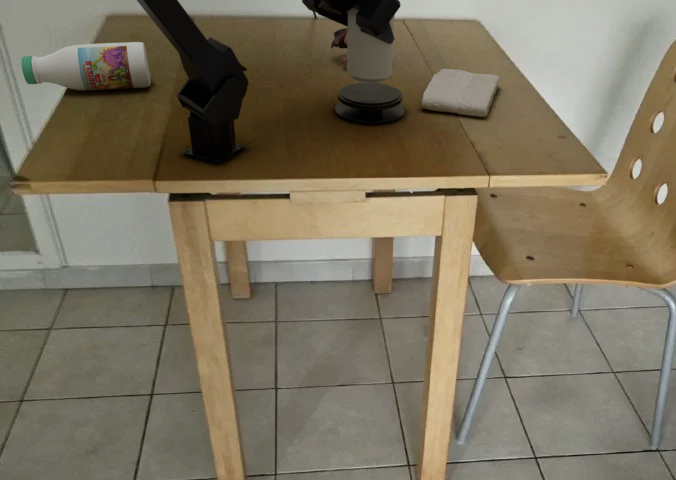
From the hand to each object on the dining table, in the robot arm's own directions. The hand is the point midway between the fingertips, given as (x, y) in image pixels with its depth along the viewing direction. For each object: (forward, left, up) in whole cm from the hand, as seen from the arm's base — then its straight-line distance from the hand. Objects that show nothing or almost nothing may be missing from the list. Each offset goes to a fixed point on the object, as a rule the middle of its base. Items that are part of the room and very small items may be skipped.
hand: (377, 35), depth 116 cm
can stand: (-1, +1, -13) cm, 13 cm away
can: (-1, +1, -7) cm, 7 cm away
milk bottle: (-10, +40, -9) cm, 42 cm away
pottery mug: (+21, +14, -13) cm, 28 cm away
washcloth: (+13, -11, -13) cm, 21 cm away
